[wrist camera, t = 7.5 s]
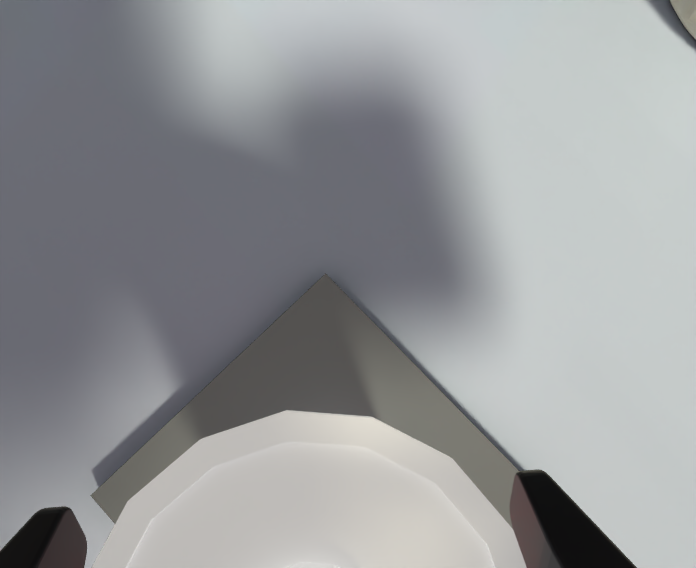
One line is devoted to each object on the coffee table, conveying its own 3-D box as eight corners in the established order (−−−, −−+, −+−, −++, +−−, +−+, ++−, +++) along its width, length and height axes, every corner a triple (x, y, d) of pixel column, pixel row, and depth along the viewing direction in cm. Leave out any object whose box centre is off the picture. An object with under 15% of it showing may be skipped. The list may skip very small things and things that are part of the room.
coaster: (316, 742, 16) (315, 756, 15) (99, 491, 17) (90, 495, 16) (542, 498, 17) (549, 502, 17) (326, 277, 18) (325, 273, 18)
